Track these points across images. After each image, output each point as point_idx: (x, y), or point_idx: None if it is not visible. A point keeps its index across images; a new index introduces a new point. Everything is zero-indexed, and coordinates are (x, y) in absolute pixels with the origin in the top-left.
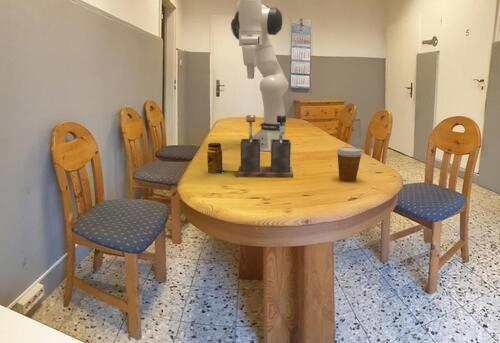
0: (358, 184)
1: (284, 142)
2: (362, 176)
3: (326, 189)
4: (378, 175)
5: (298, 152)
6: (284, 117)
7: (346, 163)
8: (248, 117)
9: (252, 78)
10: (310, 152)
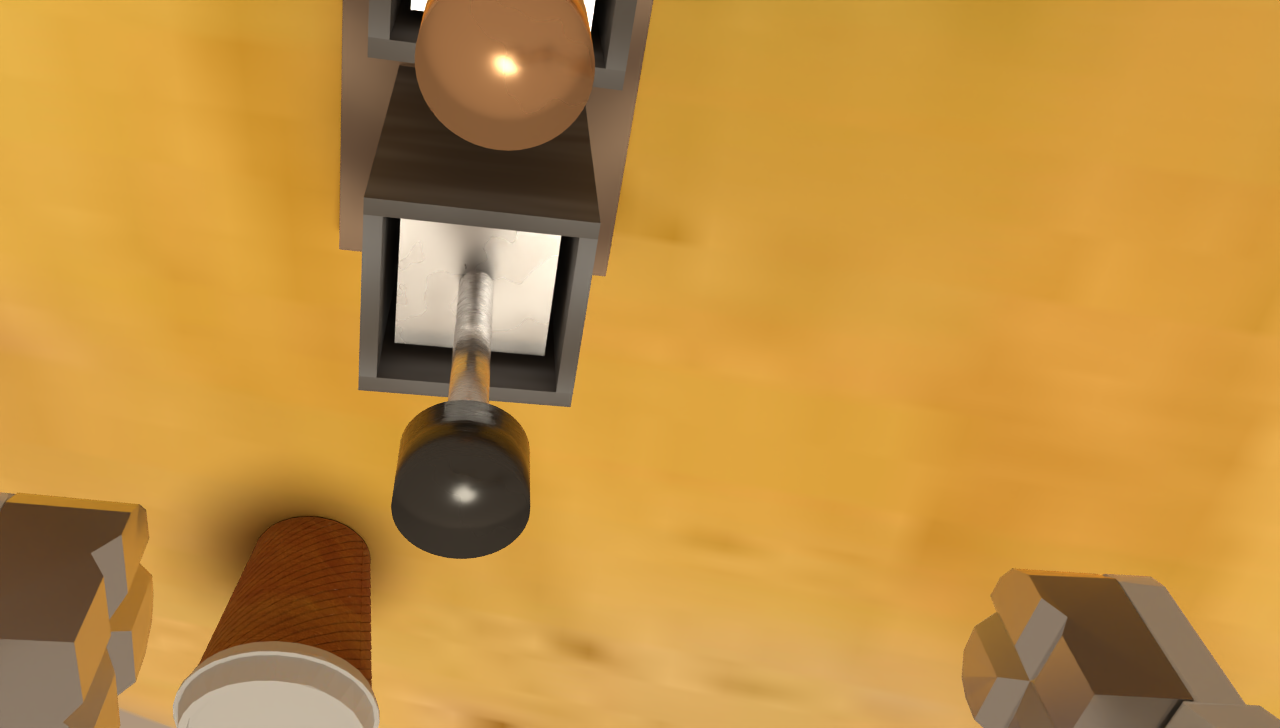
0: (197, 585)
1: (367, 333)
2: (401, 644)
3: (31, 394)
4: (428, 717)
5: (1254, 421)
6: (407, 527)
7: (214, 634)
8: (427, 6)
9: (970, 638)
10: (1209, 504)
